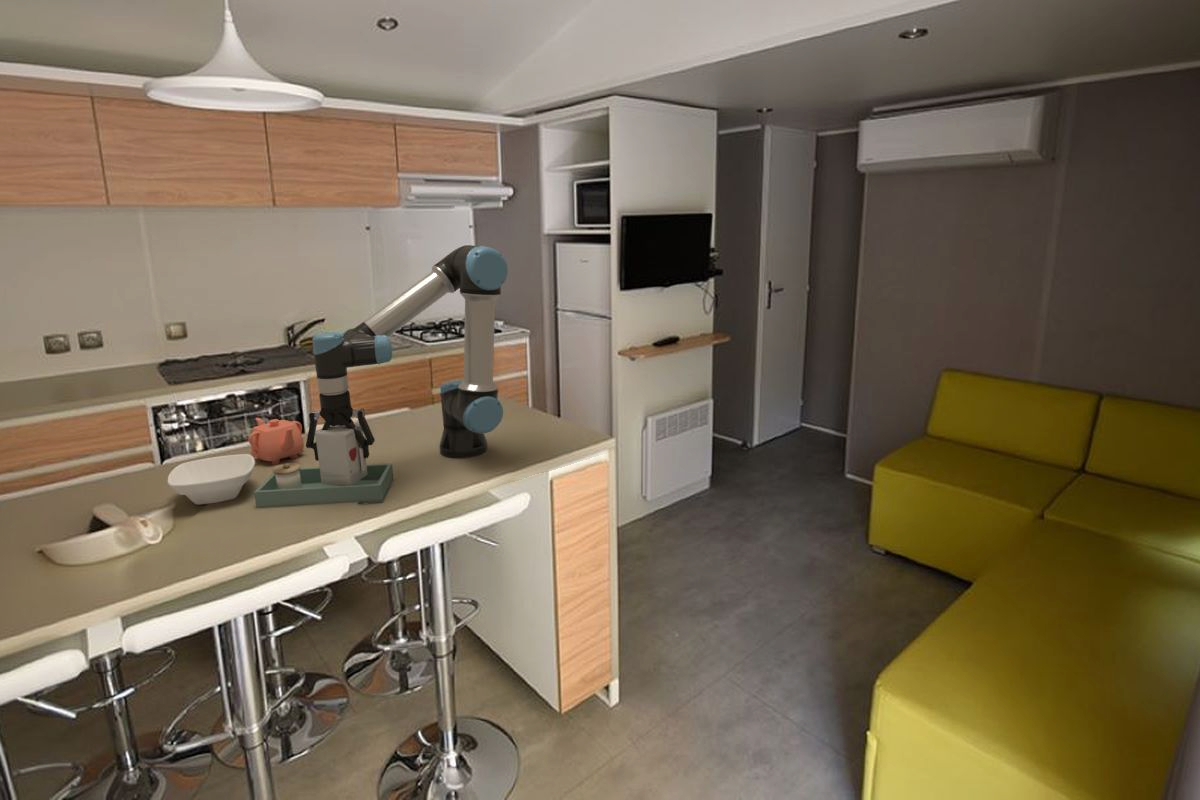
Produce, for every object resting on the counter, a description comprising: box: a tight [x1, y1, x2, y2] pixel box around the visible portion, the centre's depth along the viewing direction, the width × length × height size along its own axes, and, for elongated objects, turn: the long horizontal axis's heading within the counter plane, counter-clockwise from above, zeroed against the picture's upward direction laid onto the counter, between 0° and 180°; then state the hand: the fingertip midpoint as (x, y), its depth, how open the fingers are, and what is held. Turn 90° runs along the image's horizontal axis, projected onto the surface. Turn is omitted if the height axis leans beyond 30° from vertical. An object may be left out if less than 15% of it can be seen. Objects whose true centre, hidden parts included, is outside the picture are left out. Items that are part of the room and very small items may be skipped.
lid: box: [272, 462, 301, 475], centre depth 181 cm, size 7×7×2 cm
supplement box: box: [315, 423, 367, 486], centre depth 182 cm, size 9×9×15 cm
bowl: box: [167, 453, 256, 505], centre depth 183 cm, size 21×21×9 cm
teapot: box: [247, 417, 305, 465], centre depth 211 cm, size 15×17×13 cm
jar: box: [275, 470, 302, 489], centre depth 183 cm, size 6×6×7 cm
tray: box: [253, 462, 395, 508], centre depth 184 cm, size 32×16×5 cm, turn 96°
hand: (344, 470), depth 183 cm, fingers closed on supplement box, 10 cm apart
